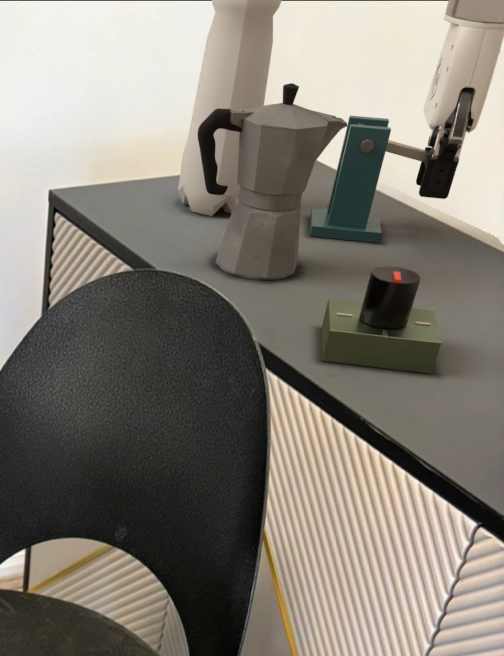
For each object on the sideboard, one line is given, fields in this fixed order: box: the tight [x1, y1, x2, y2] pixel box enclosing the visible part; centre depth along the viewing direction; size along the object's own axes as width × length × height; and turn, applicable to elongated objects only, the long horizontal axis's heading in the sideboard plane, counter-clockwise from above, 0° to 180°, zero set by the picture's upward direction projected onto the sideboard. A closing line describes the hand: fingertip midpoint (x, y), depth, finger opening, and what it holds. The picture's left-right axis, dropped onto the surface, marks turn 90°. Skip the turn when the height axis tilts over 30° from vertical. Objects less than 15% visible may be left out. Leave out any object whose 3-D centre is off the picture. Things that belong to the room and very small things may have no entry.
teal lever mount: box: [309, 115, 392, 244], centre depth 130 cm, size 8×7×12 cm
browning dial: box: [360, 265, 421, 329], centre depth 104 cm, size 4×4×4 cm
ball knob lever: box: [358, 123, 460, 168], centre depth 127 cm, size 12×4×4 cm, turn 77°
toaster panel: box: [320, 298, 442, 375], centre depth 106 cm, size 10×9×3 cm
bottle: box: [177, 0, 282, 217], centre depth 129 cm, size 9×9×30 cm
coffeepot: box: [197, 82, 348, 281], centre depth 118 cm, size 15×9×18 cm, turn 93°
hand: (431, 189), depth 129 cm, fingers closed on ball knob lever, 3 cm apart
